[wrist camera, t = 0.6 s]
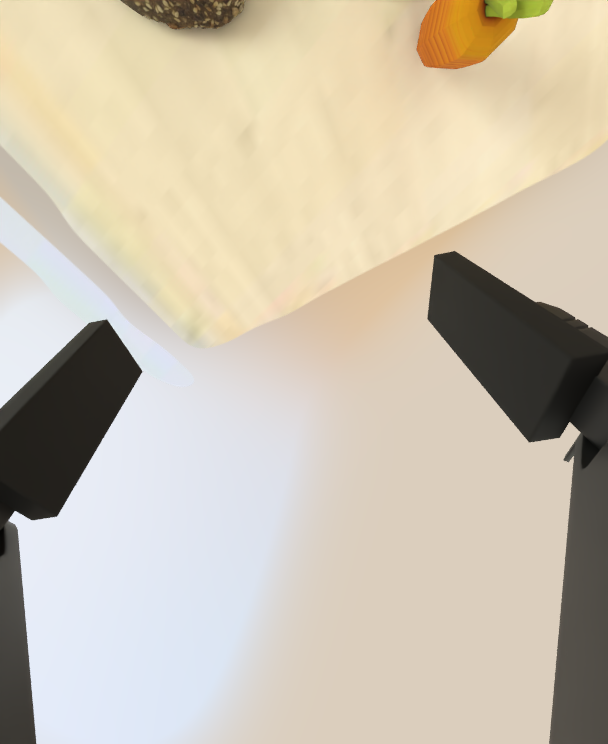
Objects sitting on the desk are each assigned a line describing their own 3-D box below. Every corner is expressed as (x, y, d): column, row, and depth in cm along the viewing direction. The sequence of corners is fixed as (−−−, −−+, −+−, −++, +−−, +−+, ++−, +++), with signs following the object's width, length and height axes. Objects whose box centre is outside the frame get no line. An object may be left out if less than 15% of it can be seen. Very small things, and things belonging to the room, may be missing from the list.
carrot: (392, 22, 25) (488, -79, 14) (450, -9, 24) (605, -144, 13) (400, 95, 28) (485, 64, 17) (452, 70, 28) (579, 20, 16)
